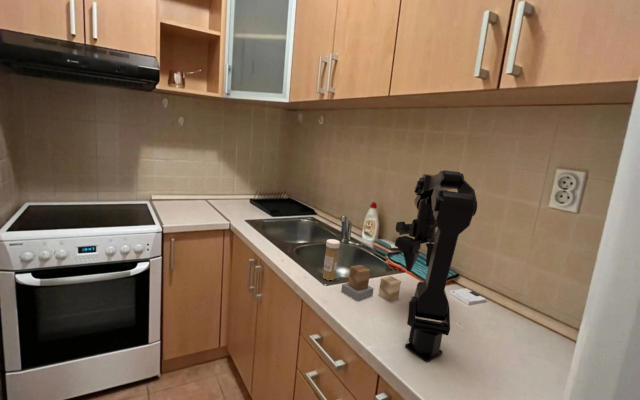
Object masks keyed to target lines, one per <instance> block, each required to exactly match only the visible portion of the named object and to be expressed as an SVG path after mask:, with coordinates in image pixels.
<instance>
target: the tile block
mask: <svg viewBox="0 0 640 400" xmlns="http://www.w3.org/2000/svg"><path fill="white" fill-rule="evenodd" d="M374 289H375V288H374V287H372V286H370V285H368V288H367V289H361V290H355V289H354V288H353V287H351V286H350V285H348V282H346V283H342V285H341V291H340V292H341V293H342V294H344V295H346V296H347V297H349V298H351V299H353V300H354V301H355V302H360V301H363V300H366V299H369V298H371V297H373V295H374Z"/></svg>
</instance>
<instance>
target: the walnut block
mask: <svg viewBox="0 0 640 400" xmlns="http://www.w3.org/2000/svg"><path fill="white" fill-rule="evenodd" d="M370 274H371V269H369V268H368V267H366V266H364V265H362V264H359V265H351V266H350V267H349V275H348V282H347V283H348V285H350V286H351V287H353V288H354V289H355V290H361V289H367V288H368V286H369V283H370V276H371V275H370Z"/></svg>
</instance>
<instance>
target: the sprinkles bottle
mask: <svg viewBox="0 0 640 400" xmlns="http://www.w3.org/2000/svg"><path fill="white" fill-rule="evenodd" d="M340 244H341V242H340V240H338V239H334V238H331V239H327V240H326V241H325V254H324V261H323V262H324V263H323V274H322V279H323V280H325V279H326V280H325V281H329V280H332V281H335V280H336V278H337V277H336V275H337V269H338V267H337V266H338V259H339V258H338V256H339V250H340ZM334 279H335V280H334Z"/></svg>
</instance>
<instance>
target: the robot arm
mask: <svg viewBox="0 0 640 400" xmlns="http://www.w3.org/2000/svg"><path fill="white" fill-rule="evenodd" d="M451 190H456V191H451ZM414 193H415V194H414V195H415V197H414V206H415V208H416V209H417V216H416V218H413V220H412V222H411V223H406V222H405V221H404V220H403V221H397V222H396V225H395V232H396V233H398V234H399V236H398V237H397V238H395V242H394V247H396V248H397V249H398V250H400V251H401V252H402V254H403V257H404V262H405V263H404V264H405V267H406V271H408V272H411V271H412V270H413V267H414V265H415V264H416V261H417V260H418V257H419V255H420V253H421V252H420V251H419V250H421V246H423V245H425V246H426V249H427V250H426V257H425V266H426V267H427V270H426V276H425V279H424V281H418V282H417V284H416V288H415V292H414V296H411V298H410V301H409V302H408V314H407V322H406V324H407V325H408V326H409V327H410V330H409V336H408V337H409V338H408V343H406V344H405V346H404V347H405V348H406V349H407V350H408V351H410V352H412V353H413V354H415V355H416V356H417V357H419V358H420V359H422V360H423V361H424V362H427V363H428V362H430V361H432V360H433V359H435V358H437V357H439V356H441V355H443V353H444V352H443V350H442V349H441V344H442V339H443V335H444V336H449V334H450V331H451V320H450V318H451V317H450V316H451V315H450V303H449V299H448V296H447V293H446V290H445V288H446V285H447V281H448V278H449V274H450V271H451V270H450V269H451V266H452V262H453V258H454V256H455V255H454V254H455V250H456V246H457V242H458V237H459V235H460V234H462V233H463V232H464V231H465V230H466V229H468V228H469V227H470V225H471V222H472V219H473V217H474V216H476V213H477V210H478V201H477V196H476V192H475V189H474V188H473V187H472V185H470V184H469V183H468V182H467V181H466V180H465V177H464V173H462V172H461V171H460V172H459V171H454V170H453V171H451V170H444V169H443V170H440V171H439V173H436V174H427V173H423V174H422V176H421V177H419V179H418V180H417V182H416V183H415V187H414ZM407 235H408V236H407Z"/></svg>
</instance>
